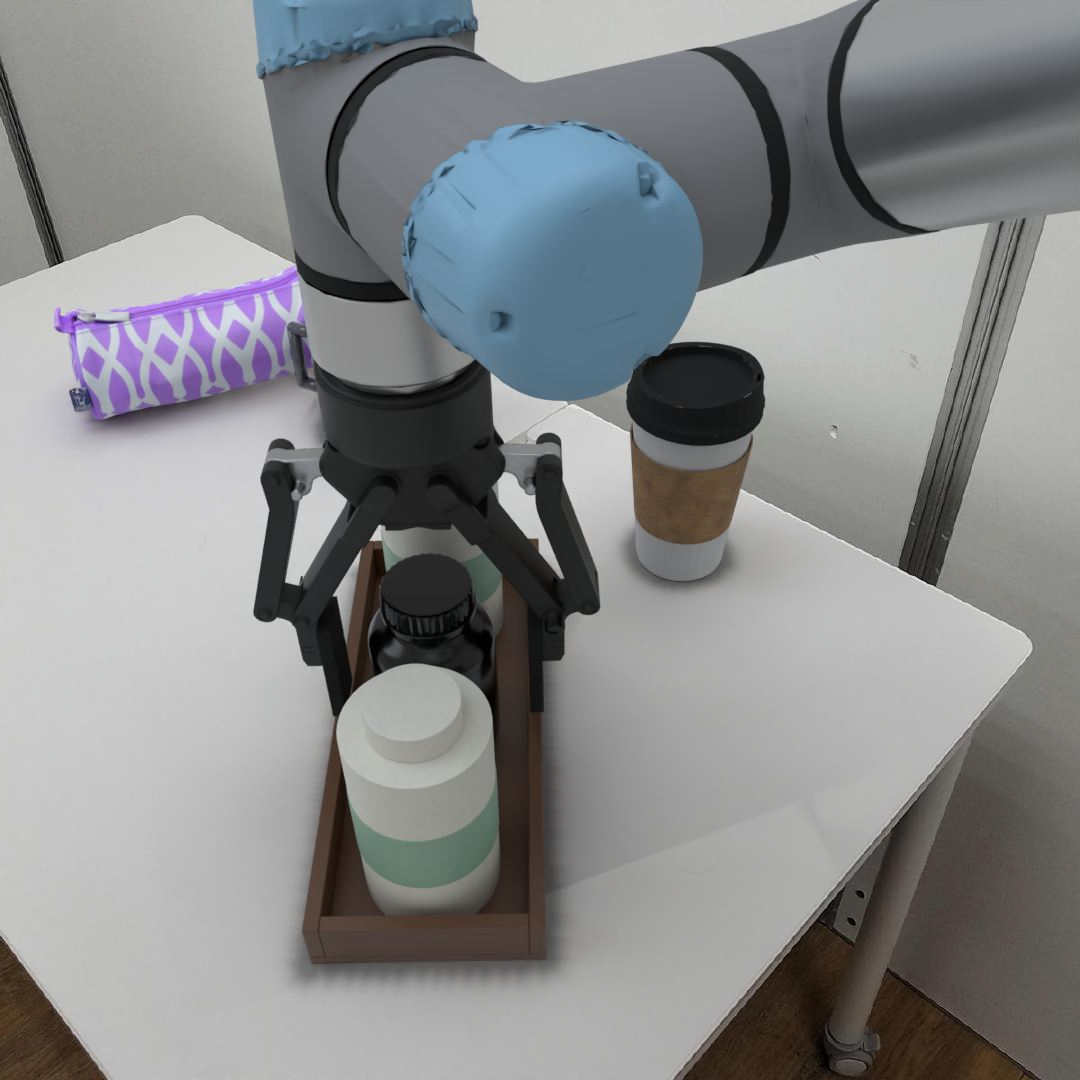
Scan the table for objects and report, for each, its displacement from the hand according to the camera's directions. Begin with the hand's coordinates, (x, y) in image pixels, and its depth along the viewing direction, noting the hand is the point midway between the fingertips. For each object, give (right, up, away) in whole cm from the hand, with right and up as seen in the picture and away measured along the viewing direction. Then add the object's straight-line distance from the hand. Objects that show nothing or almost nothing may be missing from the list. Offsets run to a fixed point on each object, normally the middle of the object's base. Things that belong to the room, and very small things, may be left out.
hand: (439, 695), depth 62 cm
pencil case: (-21, +22, +31) cm, 43 cm away
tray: (0, -3, +3) cm, 4 cm away
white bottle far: (0, +4, +9) cm, 10 cm away
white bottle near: (0, -8, -4) cm, 9 cm away
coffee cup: (+15, +8, +15) cm, 23 cm away
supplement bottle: (0, -2, +3) cm, 4 cm away
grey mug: (-8, +18, +26) cm, 33 cm away
